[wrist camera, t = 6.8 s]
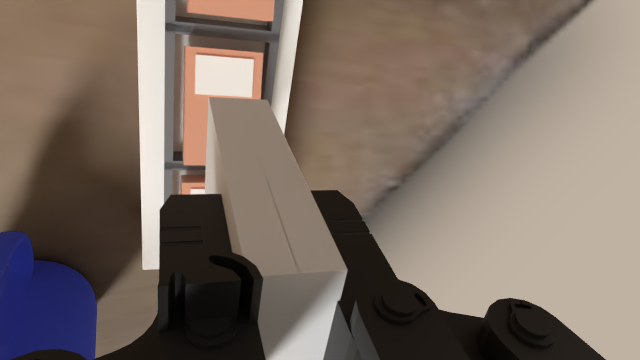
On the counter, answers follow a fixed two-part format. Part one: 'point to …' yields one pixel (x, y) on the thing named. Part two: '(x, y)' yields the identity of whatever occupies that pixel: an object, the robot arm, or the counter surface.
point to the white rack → (168, 86)
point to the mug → (42, 303)
